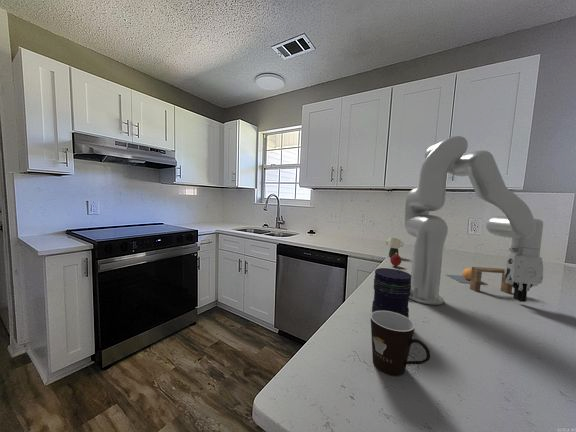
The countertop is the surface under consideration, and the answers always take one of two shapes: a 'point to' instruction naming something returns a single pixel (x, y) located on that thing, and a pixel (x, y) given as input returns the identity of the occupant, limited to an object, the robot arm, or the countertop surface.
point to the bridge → (476, 278)
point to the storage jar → (391, 291)
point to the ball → (467, 273)
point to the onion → (395, 260)
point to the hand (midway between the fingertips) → (519, 300)
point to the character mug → (394, 245)
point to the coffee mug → (393, 342)
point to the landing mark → (461, 279)
